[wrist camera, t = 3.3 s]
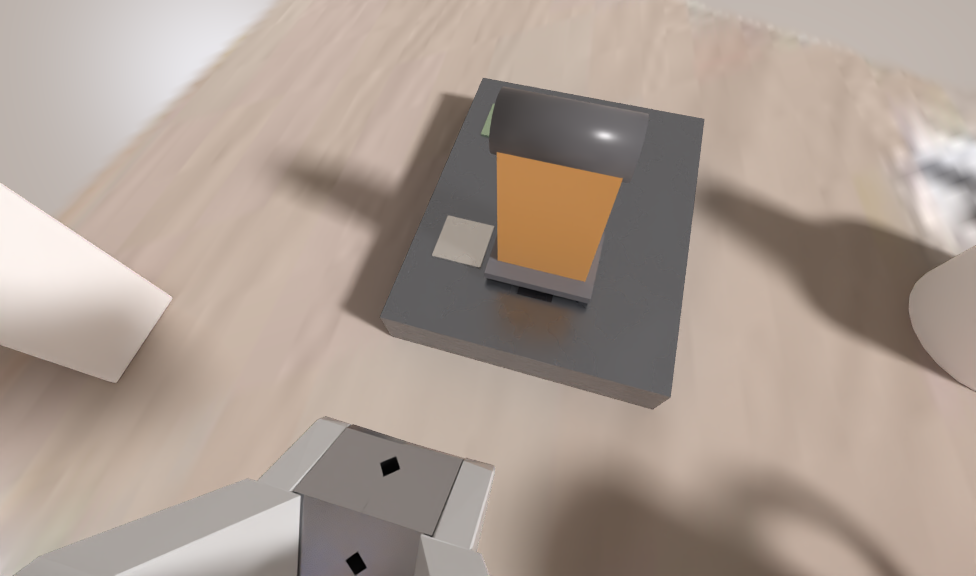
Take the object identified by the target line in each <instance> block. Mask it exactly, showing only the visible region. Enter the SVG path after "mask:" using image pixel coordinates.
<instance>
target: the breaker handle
mask: <svg viewBox="0 0 976 576" xmlns="http://www.w3.org/2000/svg"><path fill="white" fill-rule="evenodd" d="M648 121H649V114H647V113H642V112H637V111H631V110H626V109H621V108H616V107H610V106H605V105H600V104H594V103H589V102H584V101H578V100H573V99H568V98H562V97H557V96H552V95H546V94H541V93H536V92H530V91H525V90H520V89H514V88H509V87H502V88H501V90H500V91H499V94H498V96H497V99H496V102H495V105H494V109H493V114H492V119H491V125H490V133H489V151H490V153H491V154H493V155H497V237H496V240H495V243H494V246H493V249H492V252H491V254H490V257H489V260H488V263H487V266H486V269H485V272H484V275H485V278H488V279H492V280H496V281H500V282H504V283H508V284H512V285H516V286H520V287H524V288H528V289H532V290H536V291H540V292H544V293H548V294H552V295H556V296H560V297H564V298H568V299H572V300H575V301H579V302H583V303H587V304H589V302H590V300H591V296H592V291H593V287H594V282H595V278H596V273H597V269H598V264H599V259H600V255H601V250H602V246H603V241H604V236H605V233H603V232H604V229H605V226H606V223H607V221H608V218H609V215H610V213H611V210H612V207H613V204H614V202H615V199H616V196H617V193H618V191H619V188H620V185H621V183H622V182H625V183H630V181H631V179H632V177H633V174H634V171H635V169H636V166H637V163H638V160H639V156H640V153H641V150H642V146H643V142H644V139H645V135H646V131H647V126H648Z"/></svg>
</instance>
